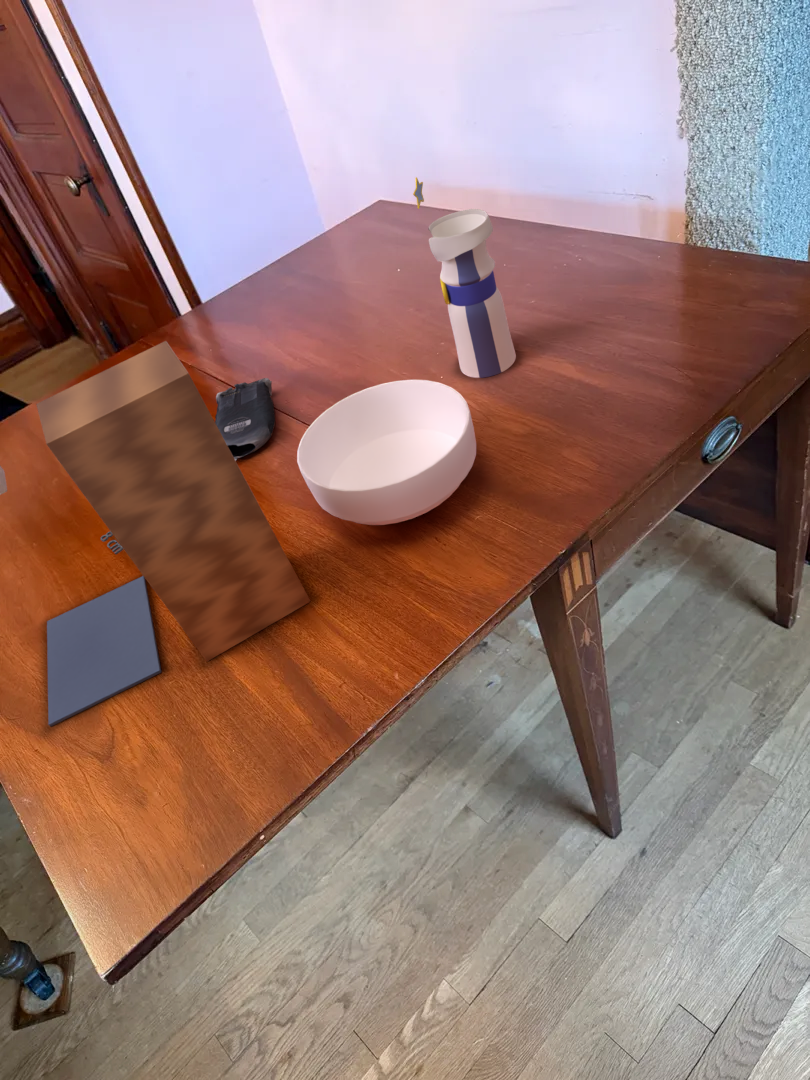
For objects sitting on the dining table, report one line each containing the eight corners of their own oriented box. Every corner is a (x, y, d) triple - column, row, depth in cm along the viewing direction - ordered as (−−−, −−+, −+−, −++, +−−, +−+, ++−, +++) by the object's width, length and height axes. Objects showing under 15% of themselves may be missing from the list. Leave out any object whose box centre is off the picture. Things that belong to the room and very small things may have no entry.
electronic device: (219, 421, 112) (210, 467, 100) (209, 387, 109) (197, 430, 97) (280, 409, 113) (278, 454, 100) (271, 375, 110) (268, 416, 97)
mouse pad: (161, 672, 76) (159, 670, 76) (50, 726, 75) (48, 724, 74) (145, 577, 88) (143, 575, 88) (48, 623, 87) (46, 621, 86)
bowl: (516, 495, 81) (502, 432, 75) (354, 577, 78) (327, 519, 73) (441, 416, 95) (424, 359, 90) (302, 483, 93) (276, 429, 87)
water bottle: (459, 386, 99) (411, 197, 83) (455, 354, 105) (409, 172, 89) (521, 371, 98) (484, 176, 81) (513, 339, 104) (477, 152, 87)
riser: (206, 661, 75) (46, 444, 57) (187, 615, 81) (35, 403, 63) (310, 601, 78) (188, 373, 59) (284, 560, 83) (165, 340, 65)
